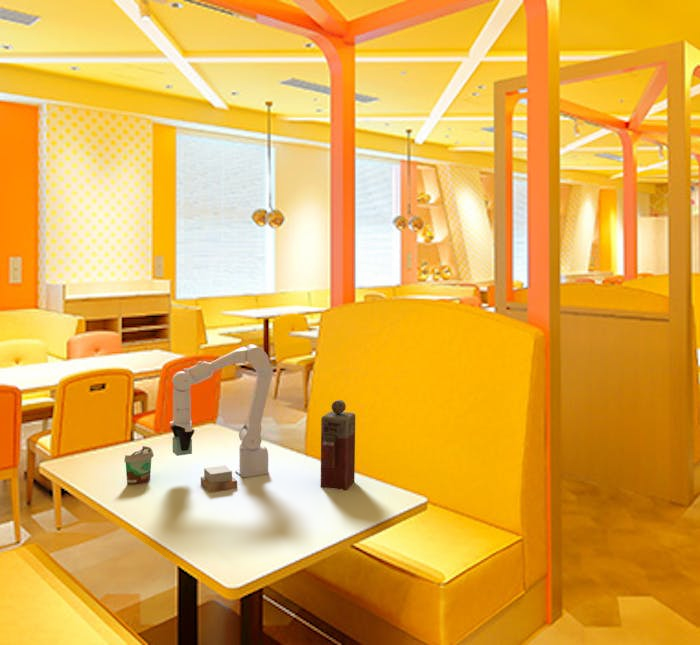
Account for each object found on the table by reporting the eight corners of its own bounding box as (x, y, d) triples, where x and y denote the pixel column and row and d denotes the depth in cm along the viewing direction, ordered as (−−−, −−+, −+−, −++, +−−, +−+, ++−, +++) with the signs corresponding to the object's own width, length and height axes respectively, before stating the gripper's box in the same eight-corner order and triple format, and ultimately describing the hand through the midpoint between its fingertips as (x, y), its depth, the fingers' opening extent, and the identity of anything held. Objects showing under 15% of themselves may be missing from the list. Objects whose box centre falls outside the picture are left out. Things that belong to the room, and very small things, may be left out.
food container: (142, 487, 217) (141, 457, 216) (124, 486, 218) (124, 455, 217) (160, 475, 229) (160, 446, 228) (143, 474, 230) (143, 445, 229)
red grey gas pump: (317, 489, 218) (318, 403, 215) (329, 478, 228) (330, 396, 226) (344, 492, 215) (345, 405, 212) (354, 481, 226) (355, 398, 223)
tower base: (227, 481, 225) (227, 472, 225) (237, 489, 218) (237, 480, 217) (200, 486, 221) (200, 477, 221) (210, 494, 213) (210, 485, 213)
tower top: (225, 474, 224) (225, 465, 223) (232, 480, 218) (231, 471, 217) (204, 477, 220) (204, 468, 220) (210, 483, 214) (210, 474, 214)
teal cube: (187, 450, 229) (187, 435, 228) (191, 453, 224) (191, 438, 224) (172, 452, 226) (172, 437, 226) (176, 455, 222) (176, 440, 221)
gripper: (163, 405, 228) (164, 444, 229) (176, 413, 216) (176, 455, 217) (184, 403, 232) (184, 442, 233) (197, 411, 219) (198, 452, 221)
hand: (182, 448), depth 225 cm, fingers closed on teal cube, 5 cm apart
